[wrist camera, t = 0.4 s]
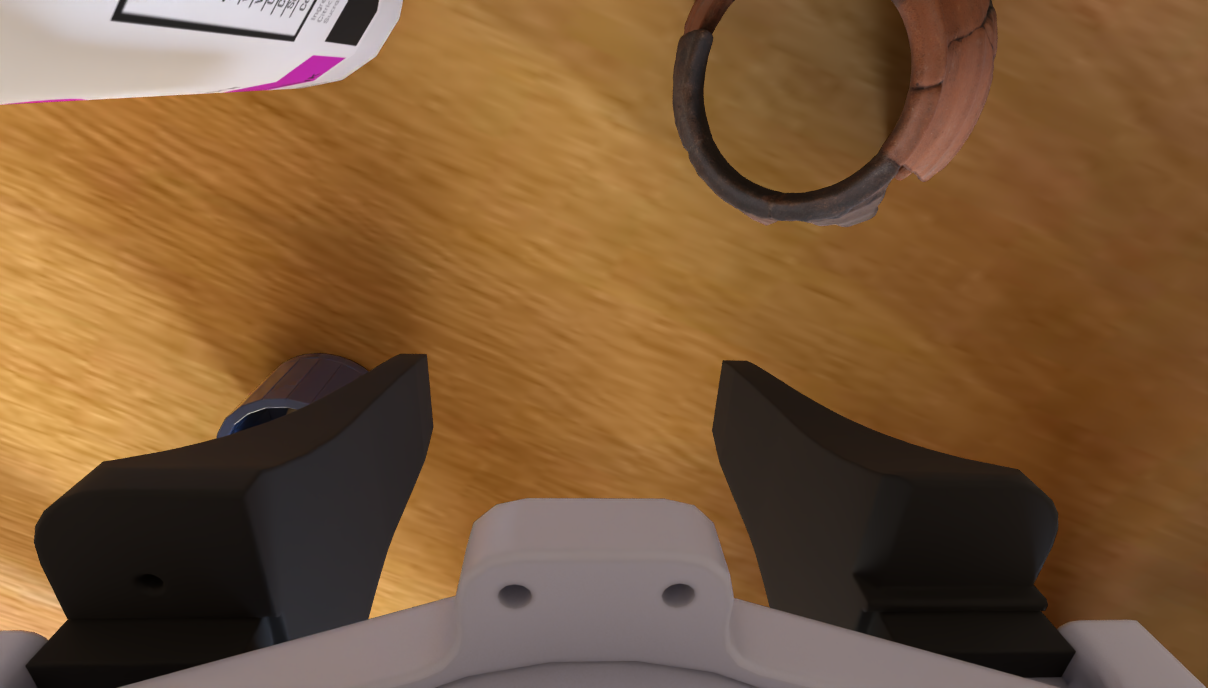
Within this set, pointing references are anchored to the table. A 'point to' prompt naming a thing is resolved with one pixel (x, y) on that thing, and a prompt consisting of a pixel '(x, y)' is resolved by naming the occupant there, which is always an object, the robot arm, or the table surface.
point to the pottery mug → (916, 145)
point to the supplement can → (183, 46)
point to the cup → (291, 389)
